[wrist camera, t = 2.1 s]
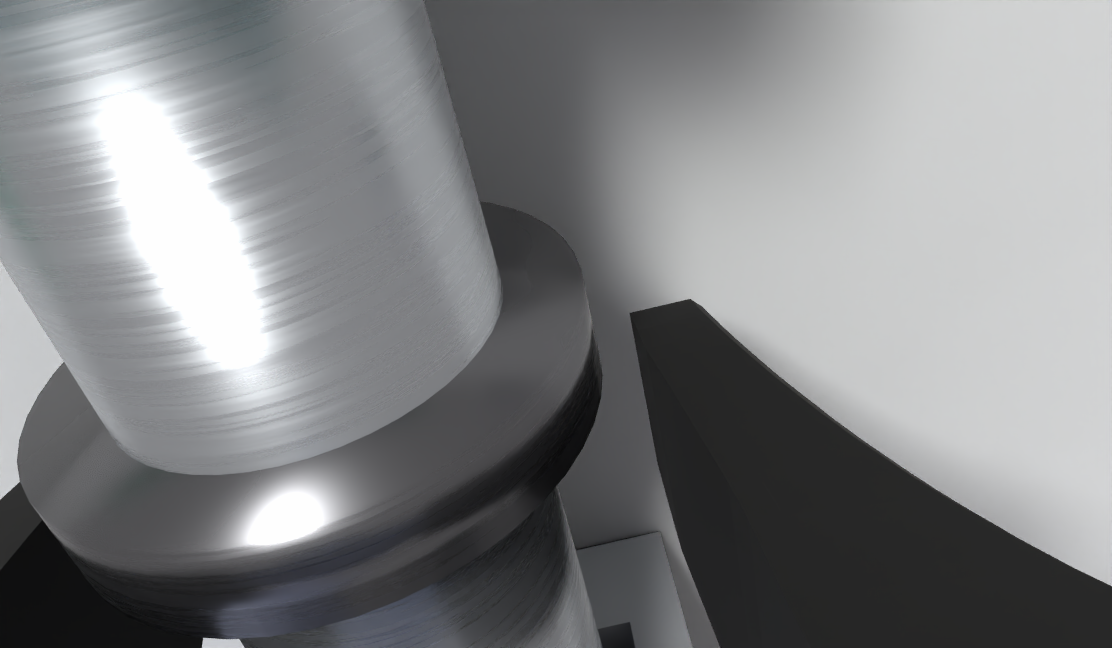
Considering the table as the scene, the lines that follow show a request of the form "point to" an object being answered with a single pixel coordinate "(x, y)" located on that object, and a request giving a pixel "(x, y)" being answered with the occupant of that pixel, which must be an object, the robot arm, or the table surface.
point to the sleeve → (634, 594)
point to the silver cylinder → (288, 330)
